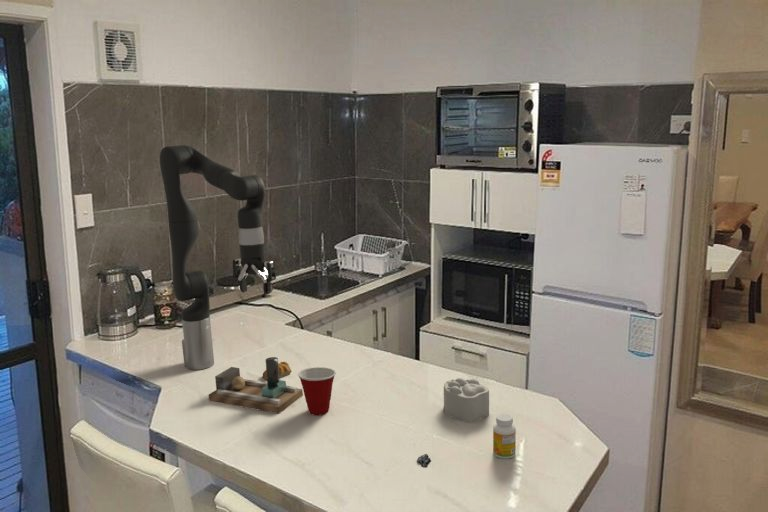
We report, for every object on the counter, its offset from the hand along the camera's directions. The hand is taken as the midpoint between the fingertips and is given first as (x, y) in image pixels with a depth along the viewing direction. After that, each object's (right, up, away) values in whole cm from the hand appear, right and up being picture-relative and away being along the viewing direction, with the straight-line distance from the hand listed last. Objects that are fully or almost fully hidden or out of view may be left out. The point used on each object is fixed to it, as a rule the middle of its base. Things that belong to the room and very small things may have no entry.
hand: (255, 292), depth 197 cm
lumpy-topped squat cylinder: (+63, -33, -18) cm, 73 cm away
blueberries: (+50, -39, -43) cm, 77 cm away
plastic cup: (+21, -33, -14) cm, 42 cm away
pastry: (+5, -28, +13) cm, 31 cm away
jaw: (+7, -30, -8) cm, 32 cm away
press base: (+1, -32, -4) cm, 32 cm away
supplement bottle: (+69, -37, -41) cm, 89 cm away
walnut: (-5, -27, -3) cm, 28 cm away
